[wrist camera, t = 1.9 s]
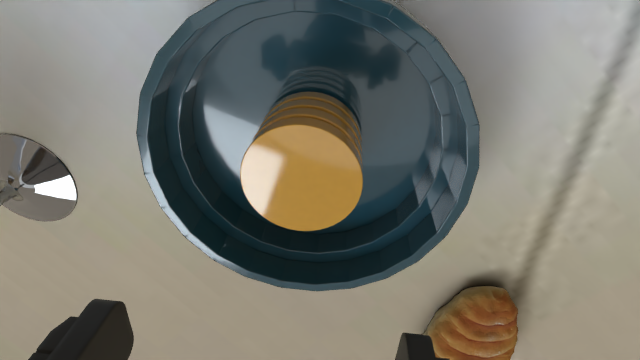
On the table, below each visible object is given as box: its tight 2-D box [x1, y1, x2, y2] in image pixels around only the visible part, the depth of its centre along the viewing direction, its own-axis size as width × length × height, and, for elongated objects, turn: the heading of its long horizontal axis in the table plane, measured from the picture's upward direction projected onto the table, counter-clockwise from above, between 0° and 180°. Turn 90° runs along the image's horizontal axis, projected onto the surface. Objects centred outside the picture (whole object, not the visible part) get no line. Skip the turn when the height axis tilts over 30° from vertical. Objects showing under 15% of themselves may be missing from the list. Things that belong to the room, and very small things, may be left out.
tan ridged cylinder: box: [240, 92, 363, 231], centre depth 21 cm, size 6×6×5 cm
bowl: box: [136, 0, 479, 291], centre depth 22 cm, size 17×17×4 cm
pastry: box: [423, 286, 518, 360], centre depth 29 cm, size 9×7×4 cm
